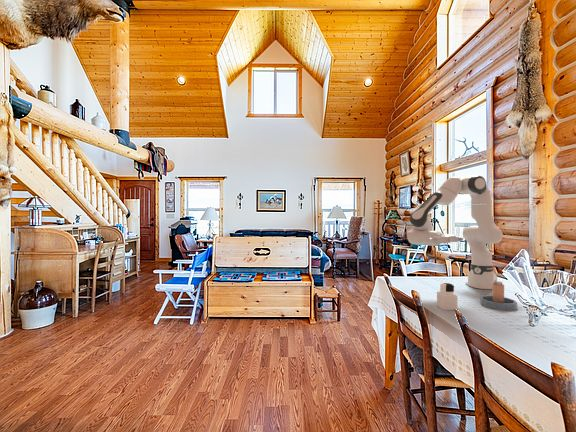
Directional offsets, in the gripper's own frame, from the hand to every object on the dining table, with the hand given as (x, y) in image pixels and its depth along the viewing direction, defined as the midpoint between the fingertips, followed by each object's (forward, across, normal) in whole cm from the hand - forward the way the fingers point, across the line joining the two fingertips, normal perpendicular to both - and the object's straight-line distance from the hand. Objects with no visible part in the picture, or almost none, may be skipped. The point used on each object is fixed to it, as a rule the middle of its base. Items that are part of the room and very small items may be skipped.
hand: (460, 239), depth 172 cm
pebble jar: (+19, -7, +31) cm, 37 cm away
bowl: (+19, -7, +32) cm, 38 cm away
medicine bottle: (+1, -29, +32) cm, 43 cm away
